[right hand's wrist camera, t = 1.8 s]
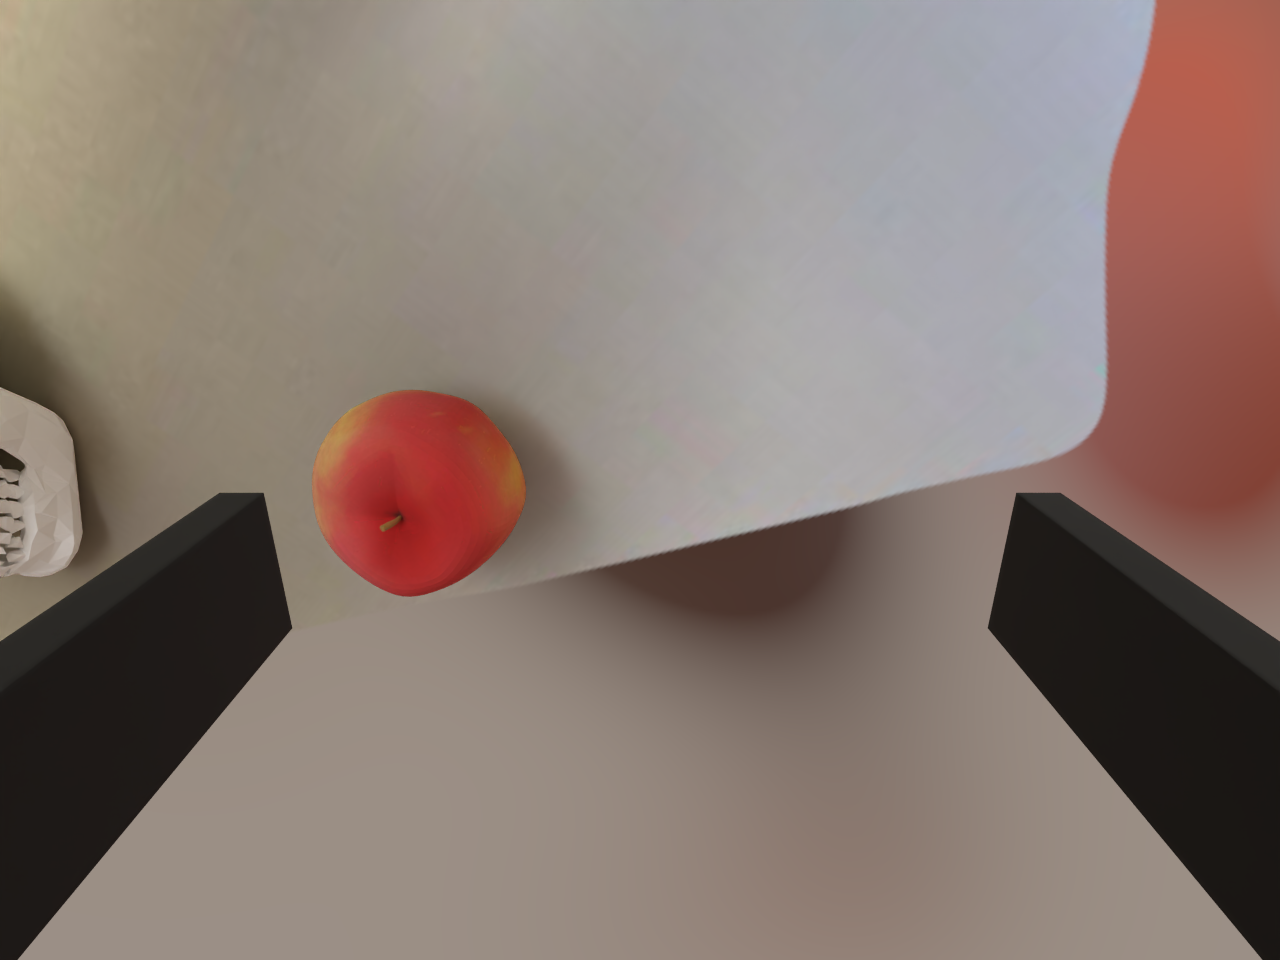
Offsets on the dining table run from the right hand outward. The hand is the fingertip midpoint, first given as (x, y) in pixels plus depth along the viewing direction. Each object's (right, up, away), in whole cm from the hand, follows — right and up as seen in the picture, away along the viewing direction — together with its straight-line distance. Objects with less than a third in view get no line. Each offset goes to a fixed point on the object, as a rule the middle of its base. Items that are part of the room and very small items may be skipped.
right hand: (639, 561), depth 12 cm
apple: (-10, +3, +26) cm, 29 cm away
